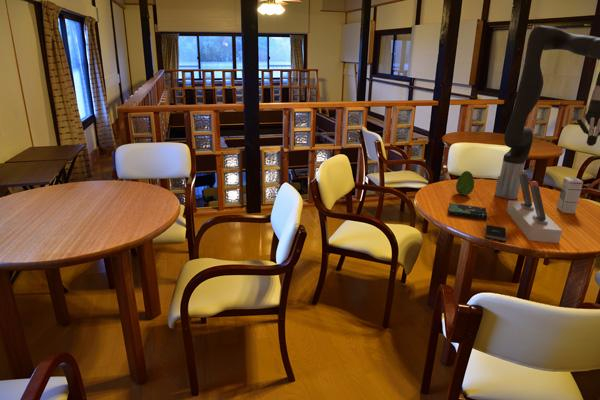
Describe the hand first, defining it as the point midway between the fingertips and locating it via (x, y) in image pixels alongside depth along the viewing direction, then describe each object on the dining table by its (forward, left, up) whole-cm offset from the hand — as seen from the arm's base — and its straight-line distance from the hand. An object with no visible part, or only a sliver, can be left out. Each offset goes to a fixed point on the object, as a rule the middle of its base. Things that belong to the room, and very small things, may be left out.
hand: (590, 145), depth 156 cm
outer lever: (-6, -22, -25) cm, 34 cm away
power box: (-10, -16, -32) cm, 37 cm away
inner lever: (-14, -10, -25) cm, 30 cm away
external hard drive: (-16, -36, -33) cm, 51 cm away
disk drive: (-33, -23, -33) cm, 52 cm away
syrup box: (-5, +15, -32) cm, 36 cm away
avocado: (-45, +1, -32) cm, 55 cm away
